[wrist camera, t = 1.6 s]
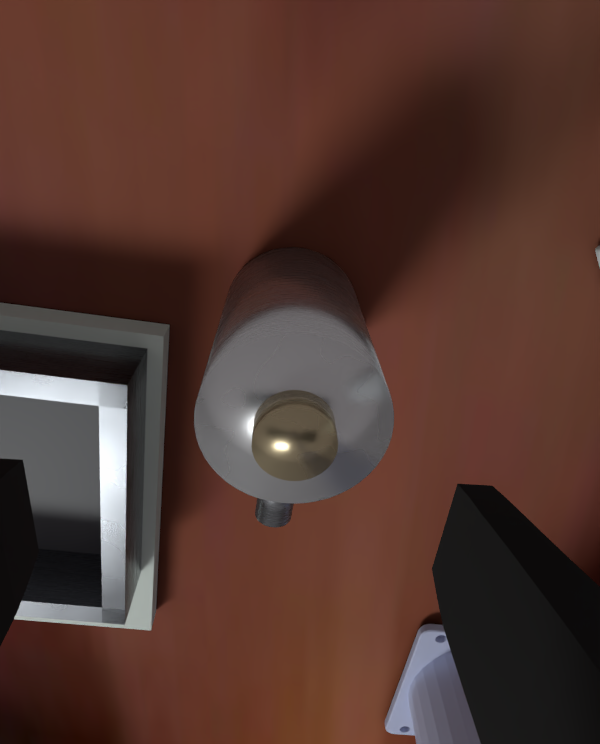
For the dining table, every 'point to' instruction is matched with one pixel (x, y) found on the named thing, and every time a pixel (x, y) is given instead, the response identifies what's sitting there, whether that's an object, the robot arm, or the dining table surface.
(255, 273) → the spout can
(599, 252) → the skincare box
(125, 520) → the box
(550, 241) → the dining table surface
